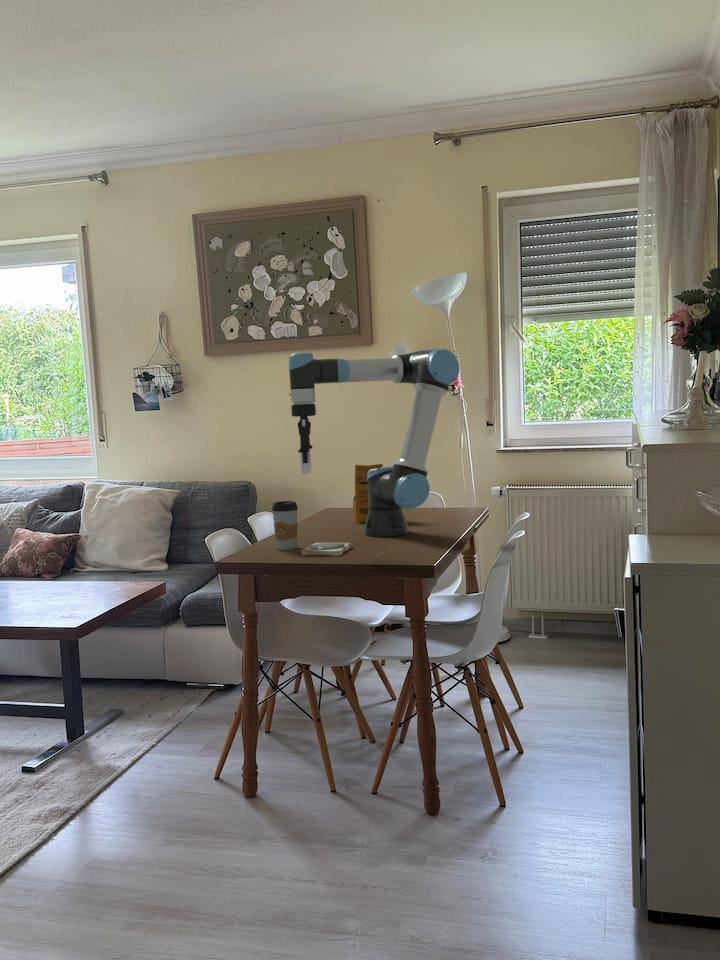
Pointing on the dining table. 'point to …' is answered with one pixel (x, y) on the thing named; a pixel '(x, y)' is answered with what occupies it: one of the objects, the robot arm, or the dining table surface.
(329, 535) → the dining table surface
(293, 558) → the dining table surface
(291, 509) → the coffee cup
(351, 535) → the dining table surface
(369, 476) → the robot arm
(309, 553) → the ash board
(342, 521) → the dining table surface
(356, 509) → the coffee package
